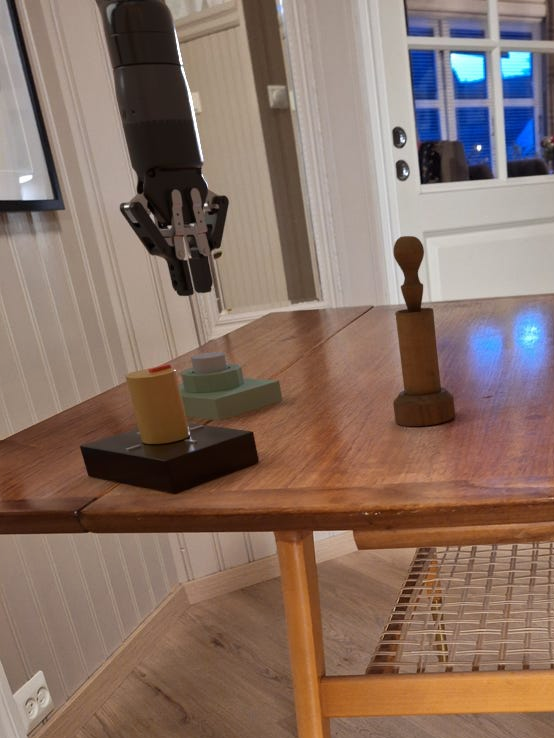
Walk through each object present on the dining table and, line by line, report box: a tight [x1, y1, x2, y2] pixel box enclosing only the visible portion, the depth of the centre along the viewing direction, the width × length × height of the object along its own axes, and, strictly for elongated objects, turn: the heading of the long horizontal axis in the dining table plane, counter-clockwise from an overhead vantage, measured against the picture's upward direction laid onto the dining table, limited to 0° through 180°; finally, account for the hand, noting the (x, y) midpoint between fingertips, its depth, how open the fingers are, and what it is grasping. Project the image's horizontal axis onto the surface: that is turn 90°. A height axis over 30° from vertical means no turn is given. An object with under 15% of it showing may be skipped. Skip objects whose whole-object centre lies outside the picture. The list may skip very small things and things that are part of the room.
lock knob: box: [124, 363, 190, 444], centre depth 80 cm, size 4×4×6 cm
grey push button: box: [190, 351, 228, 374], centre depth 104 cm, size 4×4×2 cm
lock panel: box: [79, 422, 260, 494], centre depth 82 cm, size 13×10×3 cm
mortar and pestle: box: [392, 235, 456, 427], centre depth 89 cm, size 7×6×18 cm
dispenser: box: [179, 363, 283, 422], centre depth 105 cm, size 12×10×4 cm
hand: (195, 293), depth 100 cm, fingers closed
